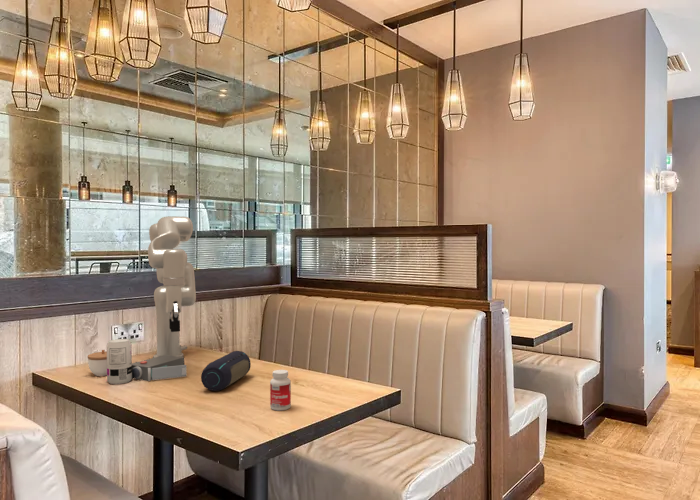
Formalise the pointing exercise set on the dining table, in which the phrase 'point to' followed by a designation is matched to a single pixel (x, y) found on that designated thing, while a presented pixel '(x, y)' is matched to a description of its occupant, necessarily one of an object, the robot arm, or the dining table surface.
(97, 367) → the lidded jar
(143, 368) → the camera body
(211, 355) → the dining table surface
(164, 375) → the thin grey plank
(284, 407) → the pill bottle
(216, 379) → the portable speaker
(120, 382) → the supplement can
